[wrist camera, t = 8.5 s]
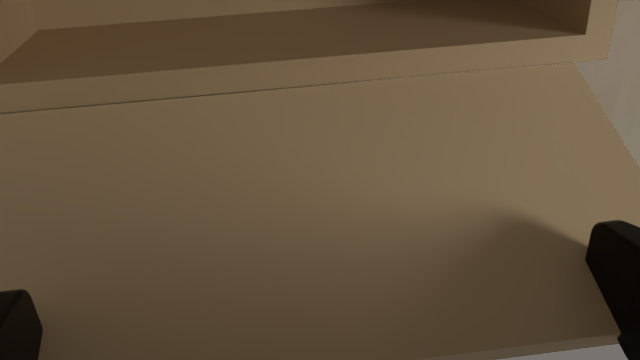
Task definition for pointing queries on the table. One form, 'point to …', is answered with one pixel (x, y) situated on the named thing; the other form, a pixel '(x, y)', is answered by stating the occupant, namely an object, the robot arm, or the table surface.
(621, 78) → the table surface
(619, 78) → the table surface
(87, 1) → the carton
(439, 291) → the flap
